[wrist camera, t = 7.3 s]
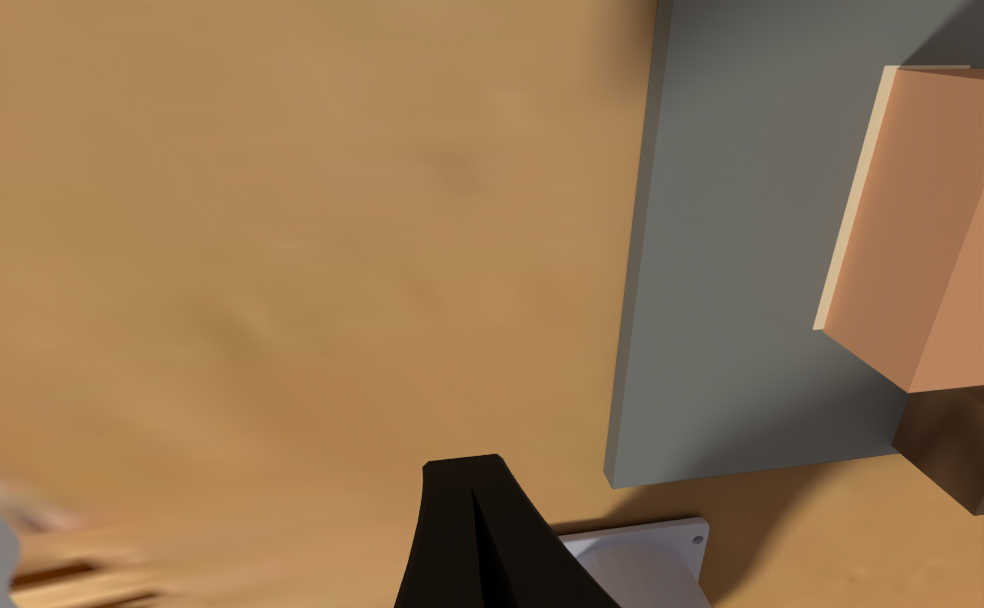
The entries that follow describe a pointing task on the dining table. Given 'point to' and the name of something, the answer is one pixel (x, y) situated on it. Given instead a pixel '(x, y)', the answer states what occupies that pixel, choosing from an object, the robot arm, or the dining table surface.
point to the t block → (920, 238)
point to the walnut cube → (947, 441)
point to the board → (759, 232)
